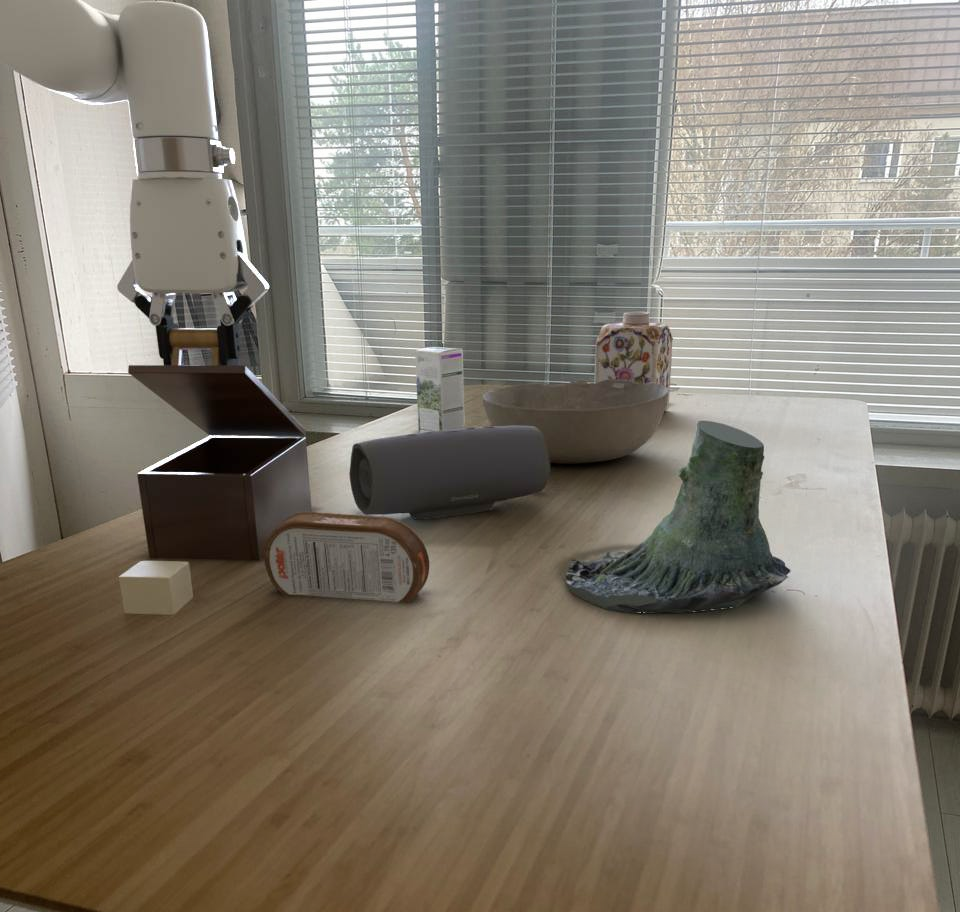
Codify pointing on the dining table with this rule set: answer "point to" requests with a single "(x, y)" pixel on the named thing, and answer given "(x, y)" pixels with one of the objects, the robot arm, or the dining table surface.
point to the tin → (346, 557)
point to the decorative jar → (634, 351)
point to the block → (156, 587)
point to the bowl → (582, 416)
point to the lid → (216, 391)
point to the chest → (223, 496)
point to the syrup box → (439, 388)
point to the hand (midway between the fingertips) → (201, 364)
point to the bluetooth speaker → (448, 470)
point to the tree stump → (694, 538)
